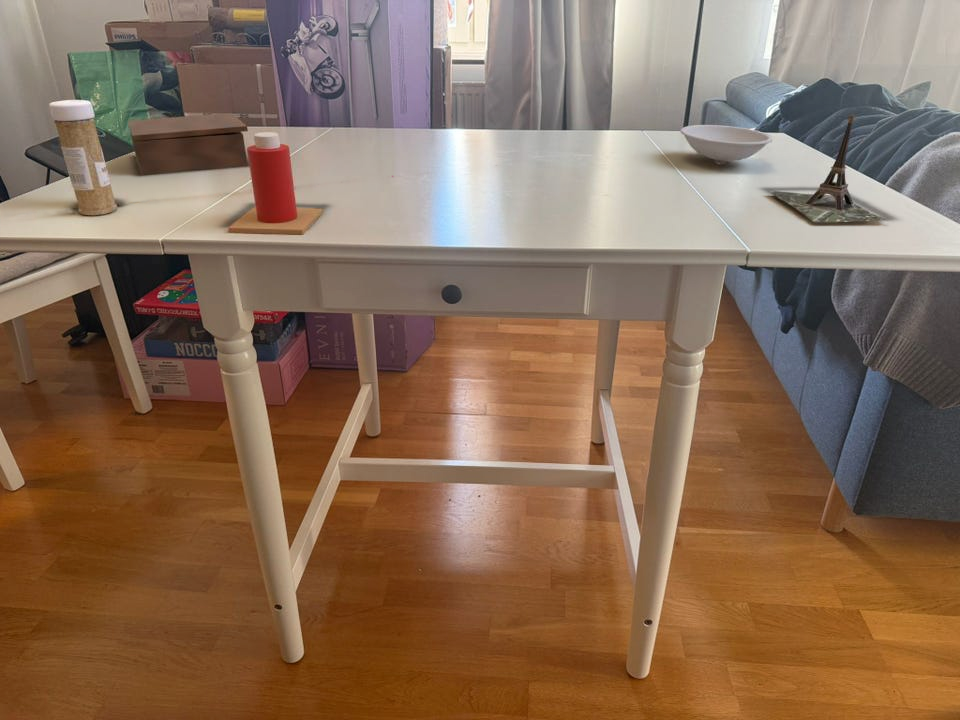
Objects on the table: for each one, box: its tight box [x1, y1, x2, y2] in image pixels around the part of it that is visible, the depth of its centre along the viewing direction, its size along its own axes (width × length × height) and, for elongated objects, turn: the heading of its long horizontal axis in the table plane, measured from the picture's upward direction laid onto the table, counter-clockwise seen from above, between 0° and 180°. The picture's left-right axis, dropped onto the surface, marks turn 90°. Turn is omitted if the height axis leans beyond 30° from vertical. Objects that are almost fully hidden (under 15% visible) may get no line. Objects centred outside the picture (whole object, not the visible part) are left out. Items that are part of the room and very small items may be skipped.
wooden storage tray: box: [129, 130, 249, 176], centre depth 109 cm, size 16×15×6 cm
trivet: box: [227, 206, 324, 235], centre depth 84 cm, size 9×9×1 cm
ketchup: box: [246, 131, 297, 223], centre depth 81 cm, size 5×5×10 cm
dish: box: [680, 124, 774, 165], centre depth 116 cm, size 18×14×5 cm
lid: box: [127, 112, 249, 141], centre depth 107 cm, size 16×15×1 cm
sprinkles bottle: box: [48, 99, 118, 216], centre depth 84 cm, size 5×5×14 cm
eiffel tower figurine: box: [767, 105, 888, 223], centre depth 89 cm, size 15×10×13 cm
